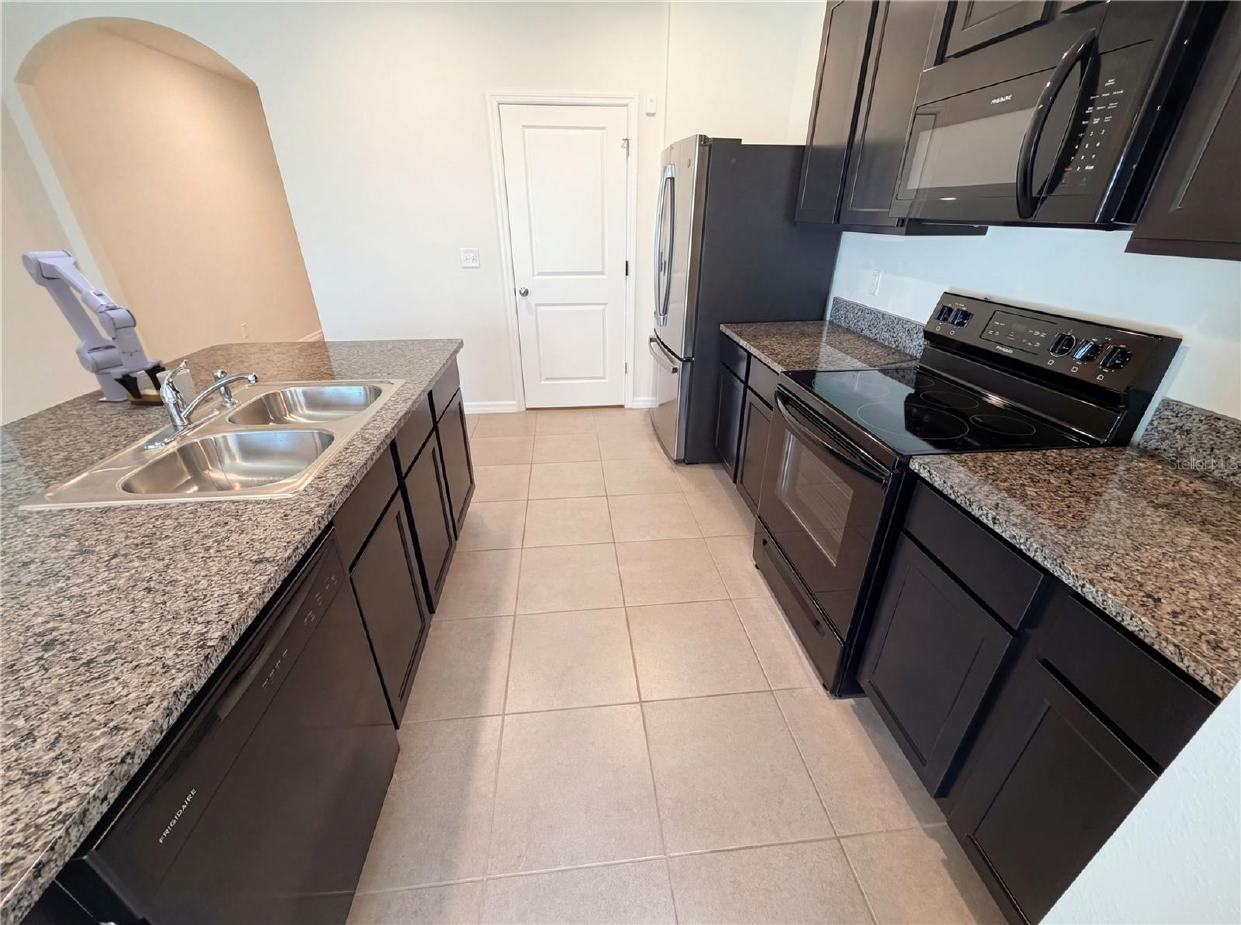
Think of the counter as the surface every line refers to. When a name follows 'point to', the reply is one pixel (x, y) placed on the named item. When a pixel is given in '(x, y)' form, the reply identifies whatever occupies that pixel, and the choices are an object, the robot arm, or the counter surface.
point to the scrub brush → (146, 398)
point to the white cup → (181, 383)
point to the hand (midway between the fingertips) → (149, 394)
